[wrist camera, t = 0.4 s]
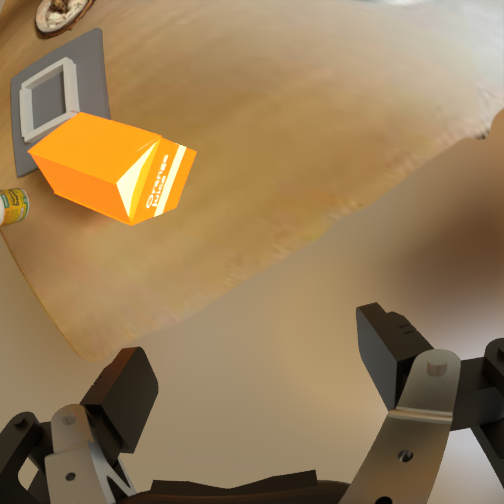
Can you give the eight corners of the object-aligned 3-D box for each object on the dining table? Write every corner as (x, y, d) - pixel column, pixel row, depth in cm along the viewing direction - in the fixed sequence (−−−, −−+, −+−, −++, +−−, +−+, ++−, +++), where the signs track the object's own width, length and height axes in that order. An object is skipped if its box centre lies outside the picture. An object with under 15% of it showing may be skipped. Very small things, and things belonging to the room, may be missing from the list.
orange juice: (176, 208, 38) (100, 241, 18) (117, 186, 37) (14, 200, 18) (197, 150, 36) (137, 124, 16) (137, 130, 35) (42, 100, 16)
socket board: (16, 80, 32) (3, 76, 29) (102, 31, 31) (91, 22, 28) (23, 176, 36) (9, 178, 33) (113, 136, 35) (101, 133, 32)
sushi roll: (37, 1, 29) (26, -7, 24) (106, -37, 28) (97, -48, 24) (33, 58, 32) (19, 52, 28) (107, 17, 31) (96, 6, 27)
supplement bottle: (6, 206, 38) (-33, 215, 28) (18, 181, 37) (-23, 185, 27) (22, 227, 38) (-17, 240, 29) (35, 201, 37) (-6, 209, 28)
